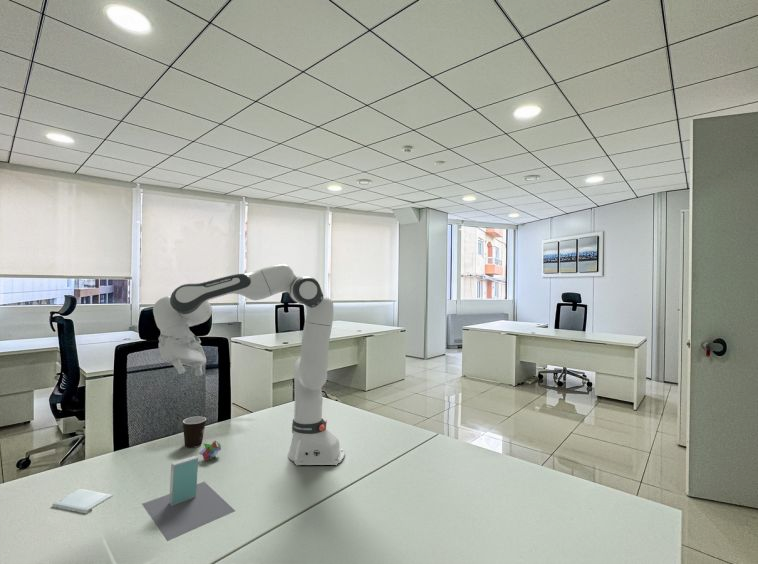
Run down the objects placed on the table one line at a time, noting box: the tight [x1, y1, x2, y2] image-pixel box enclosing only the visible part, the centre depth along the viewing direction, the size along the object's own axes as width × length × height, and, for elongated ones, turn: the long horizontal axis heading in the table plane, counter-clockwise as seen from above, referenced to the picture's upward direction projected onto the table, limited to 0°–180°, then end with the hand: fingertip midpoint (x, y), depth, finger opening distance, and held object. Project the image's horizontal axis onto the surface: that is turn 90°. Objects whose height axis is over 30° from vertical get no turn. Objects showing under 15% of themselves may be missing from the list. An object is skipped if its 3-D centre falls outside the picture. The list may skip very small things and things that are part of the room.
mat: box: [141, 481, 236, 541], centre depth 106 cm, size 22×18×1 cm
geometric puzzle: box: [198, 440, 222, 462], centre depth 136 cm, size 7×7×8 cm
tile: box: [169, 455, 199, 506], centre depth 110 cm, size 2×7×12 cm, turn 138°
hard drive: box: [51, 488, 114, 515], centre depth 107 cm, size 2×8×12 cm
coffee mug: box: [182, 416, 207, 449], centre depth 150 cm, size 12×9×10 cm
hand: (191, 374), depth 119 cm, fingers open, 8 cm apart
